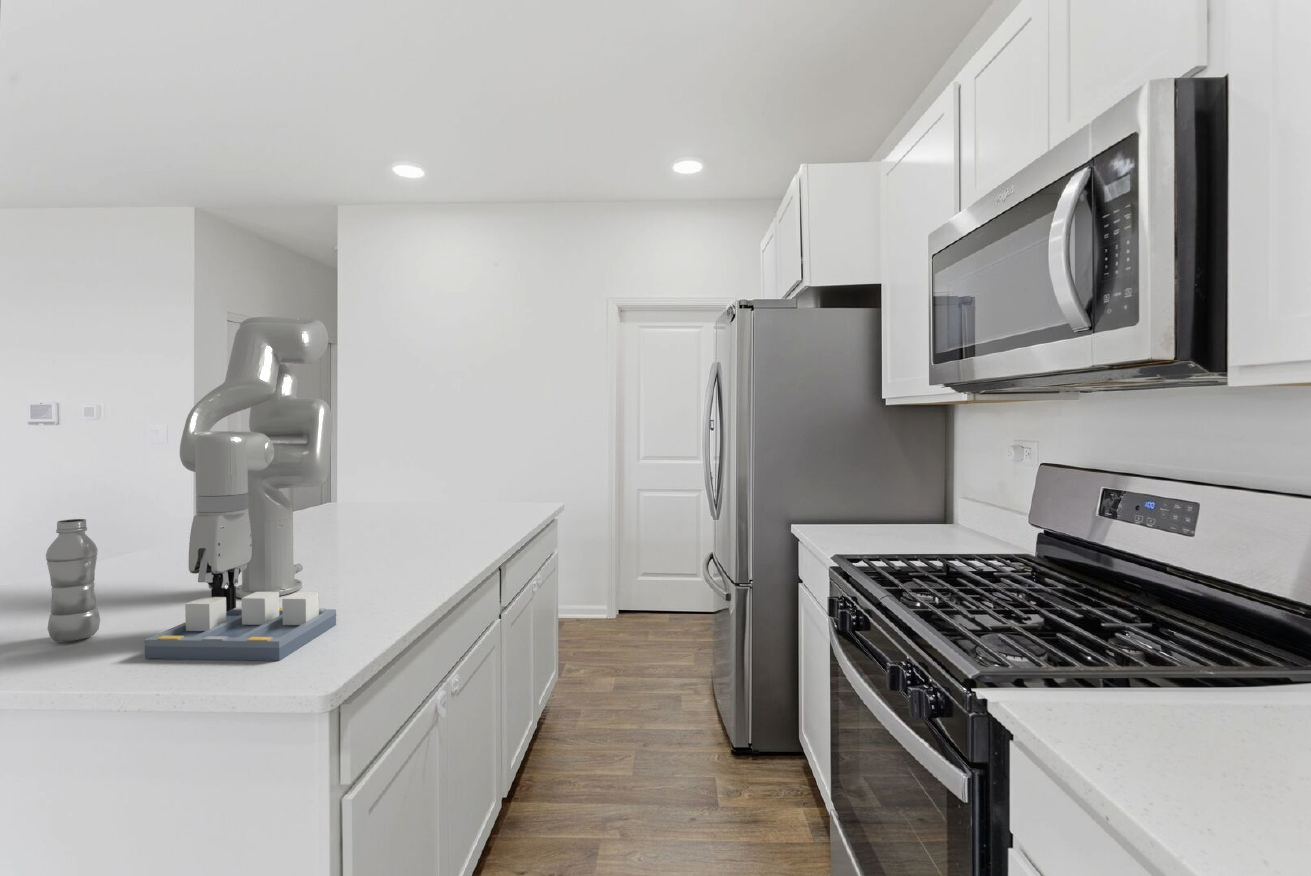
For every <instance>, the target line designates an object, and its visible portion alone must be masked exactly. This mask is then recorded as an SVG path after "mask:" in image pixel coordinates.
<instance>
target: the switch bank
mask: <svg viewBox="0 0 1311 876" xmlns="http://www.w3.org/2000/svg"><path fill="white" fill-rule="evenodd" d="M336 625H337V609H331V608H328V609H327V608H326V607H325V608H324V607H323V608H321V607H319V615H318V616H316V617H314V618H313V619H311V620H309V621H307V622H306V623H304V624H302V625H283V608H282V607H279V616H278V617H276V618H274V619H272V620H270V621H268V622H267V623H265V624H263V625H245V624H242V606H241V607H240V606H239V607H238V606H236V608H234V609H231V610H230V611H226V622H224V623H222V624H220V625H218V626H216V627H213V628H211V629H209V630H207V631H186V621H185V622H182V623H181V624H178V625H176V626H173V627H170V628H168V629H166V630H164V631H162V632H159V633H157V634H155V635H152V636H149V637H147V638H145V639H144V659H145V658H163V659H162V660H196V661H198V660H199V661H200V660H201V661H204V660H205V661H210V660H211V661H265V662H266V661H269V662H270V661H271V662H272V661H273V662H274V661H275V662H276V661H277V662H278V661H279V662H280V661H281V660H283V659H285V658H286V657H287V656H289V655H292V654H293V653H294V652H295V651H297V650H298V649H299V650H300V648H302V647H304V646H305V645H306V644H308V643H310V642H311V641H313V640H315V639H316V638H318V637H319V636H320V635H322V634H324V633H325V632H327V631H329V630H330V629H332V628H333V627H335V626H336Z"/></svg>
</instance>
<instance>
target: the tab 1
mask: <svg viewBox="0 0 1311 876" xmlns="http://www.w3.org/2000/svg"><path fill="white" fill-rule="evenodd" d="M184 607H185V608H184V609H185V622H186V631H207V630H209V629H211V628H213V627H216V626H218V625H220V624H222V623H224V622H226V597H211V596H201V597H200V598H199V597H198V598H196V599H194V600H191V601H188V602H186V603H185V604H184Z"/></svg>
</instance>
